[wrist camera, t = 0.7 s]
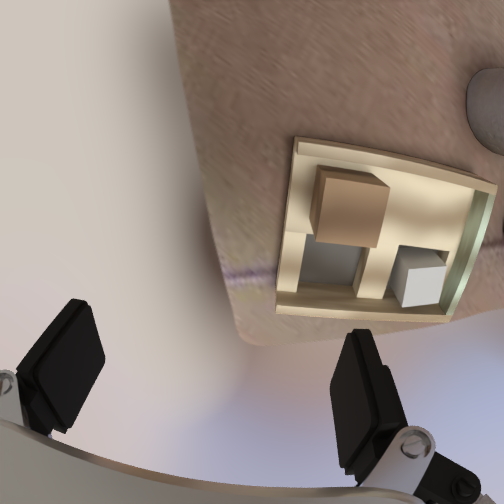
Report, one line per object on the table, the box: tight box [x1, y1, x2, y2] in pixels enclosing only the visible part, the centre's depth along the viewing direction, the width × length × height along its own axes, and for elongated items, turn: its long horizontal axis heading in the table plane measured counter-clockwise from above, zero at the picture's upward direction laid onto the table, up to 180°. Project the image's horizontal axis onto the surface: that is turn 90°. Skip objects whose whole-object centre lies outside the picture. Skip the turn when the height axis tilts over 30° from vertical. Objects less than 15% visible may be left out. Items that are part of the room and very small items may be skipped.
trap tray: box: [275, 136, 498, 322], centre depth 28 cm, size 16×20×5 cm
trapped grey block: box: [389, 247, 447, 307], centre depth 30 cm, size 4×4×4 cm
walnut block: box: [309, 164, 390, 248], centre depth 25 cm, size 5×5×5 cm
